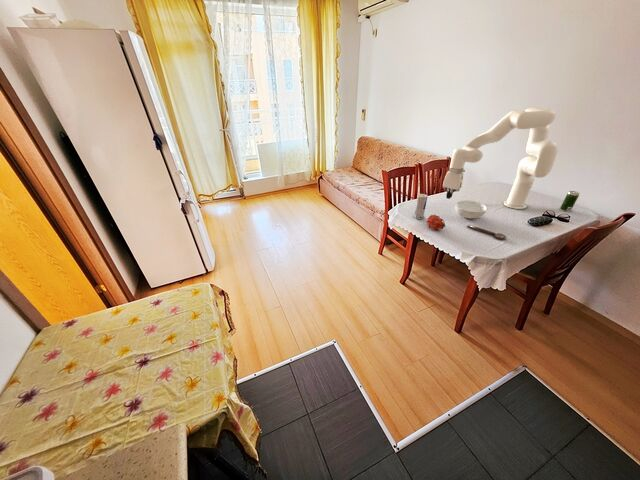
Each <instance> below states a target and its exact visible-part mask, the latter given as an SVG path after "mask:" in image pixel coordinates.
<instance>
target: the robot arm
mask: <svg viewBox="0 0 640 480" xmlns="http://www.w3.org/2000/svg"><path fill="white" fill-rule="evenodd" d="M556 114H557V113H556V112H555V110H554V109H550V108H545V107H543V108H542V107H536V106H535V107H528V108H526V109H525V110H518V109H516V110H515V109H514V110H511V111H510V112H508V113H507V114H506V115H505V116H503V117H502V118H501V119H500V120H499V121H498V122H497V123H495V124H494V125H493V126H492V127H491V128H489V130H486V131H485V132H483V133H481V134H479V135H478V136H475V137H473V138H472V139H471V140H469V142H468V143H466V144H465V145H464V146H463V147H462V148H455V149H454V150H453V152H452V156H451V159H450V164H449V168H448V171H447V172H446V174H445V176H444V179H443V182H442V183H443V184H442V188H443V189H444V190H445V191H446V199H448V200H450V199H451V198H452V197H453V194H454V192H460V191H461V188H462V186H463V183H464V173H465V172H466V169H465V168H464V167H465V163H471V164H475V163H478V162H480V161H481V160H482V159H483V156H484V155H483V152H482V151H481V150H480V148H481V147H483V146H486V145H488V144H495V143H497V142H500V141H501V140H503V139H504V138H505V137H506V136H507V135H508V134H509V133H511V132H512V131H513V130H514V129H518V130H529V134H528V135H529V136H528V140H527V143H526V147H525V153H526V154H527V155H529V156H526V157H524V158H522V159H521V160H520V161H519V163H518V166H517V172H516V176H515V178H514V182H513V184H512V187H511V190H510V192H509V194H508V198H507V200H504V201H503V205H504V206H505V207H507V208H510V209H515V210H523V209H526V208H527V206H528V204H526V201H527V199H528V197H529V195H530V192H531V189H532V187H533V185H534V182H535V178H540V179H542V178H544V177H546V176H548V175H549V174H550V172H551V171H552V169H553V166H554V163H555V160H556V158H557V155H558V151H559V147H558V144H557V143H556V142H555V141H552V140H549V139H548V138H549V135H550V134H549V133H550V127H551V126H550V125H551V124H552V123H553V122H554V121H555V119H556V116H557V115H556Z"/></svg>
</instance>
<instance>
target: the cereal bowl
mask: <svg viewBox="0 0 640 480" xmlns="http://www.w3.org/2000/svg"><path fill="white" fill-rule="evenodd" d="M454 209H455V212H456V213H457V215H459V216H461V217H463V218H464V219H469V220H471V219H479V218H481V217H483V216H484V215H485V214H486V212H487V210H488V208H487V205H485V204H484V203H481V202H480V201H475V200H469V199H467V200H465V199H464V200H459V201H457V202H456V203H455V207H454Z"/></svg>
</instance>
